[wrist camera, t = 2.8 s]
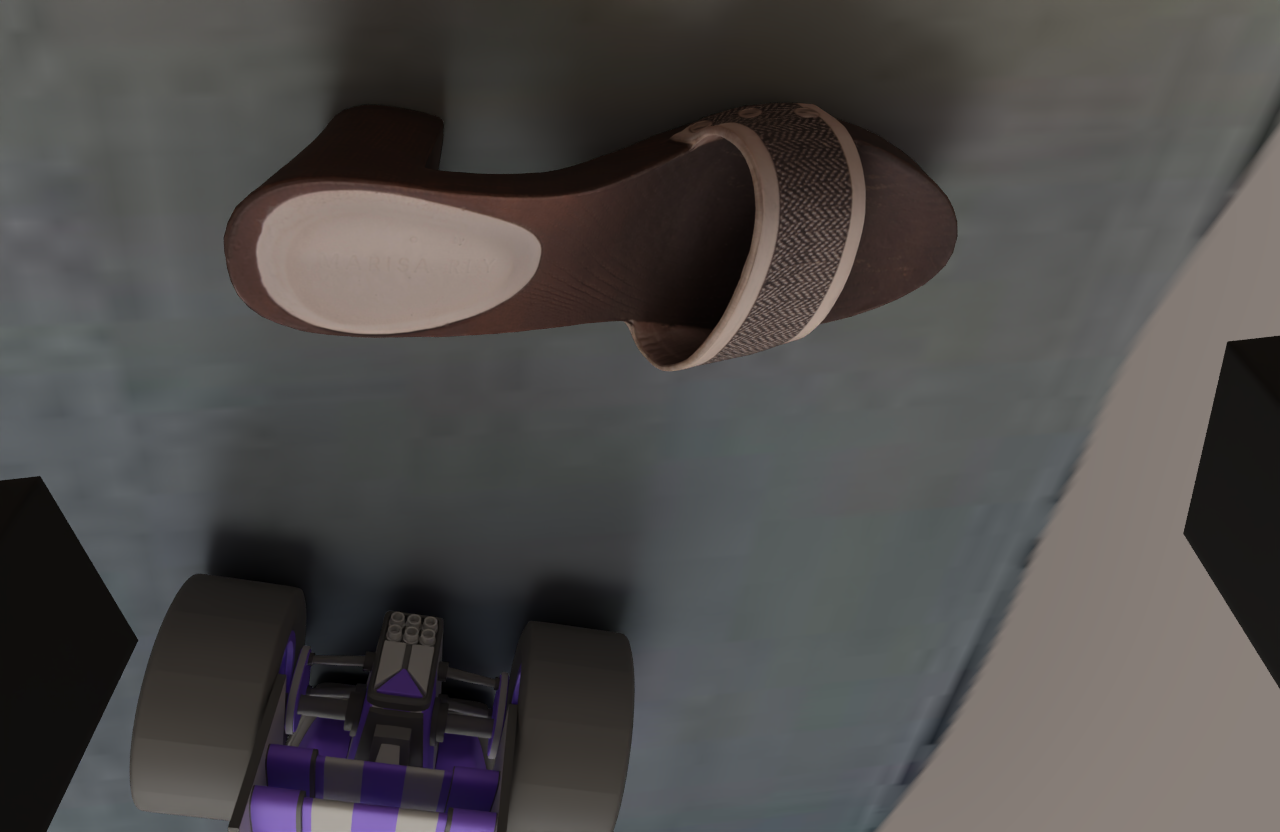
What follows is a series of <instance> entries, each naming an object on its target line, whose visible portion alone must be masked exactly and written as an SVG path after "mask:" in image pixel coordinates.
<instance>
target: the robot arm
mask: <svg viewBox="0 0 1280 832" xmlns="http://www.w3.org/2000/svg"><path fill="white" fill-rule="evenodd" d="M1184 535H1185V537H1186V539H1187V540H1188V541H1189V543H1190V545H1191V546H1192V548H1193V550H1194V551H1195V553H1196V555H1197V556H1198V558H1199V559H1200V561H1201V563H1202V564H1203V566H1204V567H1205V569H1206V571H1207V572H1208V574H1209V576H1210V577H1211V579H1212V580H1213V582H1214V584H1215V585H1216V587H1217V588H1218V590H1219V592H1220V593H1221V595H1222V596H1223V598H1224V600H1225V601H1226V603H1227V605H1228V606H1229V608H1230V609H1231V611H1232V613H1233V614H1234V616H1235V617H1236V619H1237V621H1238V622H1239V624H1240V625H1241V627H1242V628H1243V630H1244V632H1245V634H1246V635H1247V637H1248V638H1249V640H1250V642H1251V643H1252V645H1253V646H1254V648H1255V650H1256V651H1257V653H1258V655H1259V656H1260V658H1261V659H1262V661H1263V662H1264V664H1265V666H1266V667H1267V669H1268V670H1269V672H1270V674H1271V675H1272V677H1273V679H1274V680H1275V682H1276V683H1277V685H1278V687H1279V688H1280V336H1274V337H1264V338H1256V339H1247V340H1238V341H1229V342H1227V346H1226V350H1225V354H1224V359H1223V363H1222V367H1221V372H1220V376H1219V380H1218V385H1217V389H1216V394H1215V398H1214V402H1213V407H1212V411H1211V415H1210V420H1209V424H1208V429H1207V433H1206V437H1205V442H1204V446H1203V450H1202V455H1201V459H1200V463H1199V468H1198V472H1197V477H1196V481H1195V485H1194V489H1193V494H1192V499H1191V503H1190V507H1189V511H1188V516H1187V520H1186V525H1185V529H1184ZM137 642H138V639H137V637H136V636H135V634H134V632H133V631H132V629H131V627H130V626H129V624H128V622H127V621H126V619H125V617H124V616H123V614H122V612H121V611H120V609H119V607H118V606H117V604H116V602H115V601H114V599H113V597H112V595H111V594H110V592H109V590H108V589H107V587H106V585H105V584H104V582H103V580H102V579H101V577H100V575H99V574H98V572H97V570H96V569H95V567H94V565H93V564H92V562H91V560H90V559H89V557H88V555H87V554H86V552H85V550H84V549H83V547H82V545H81V544H80V542H79V540H78V539H77V537H76V535H75V534H74V532H73V530H72V529H71V527H70V525H69V523H68V522H67V520H66V518H65V517H64V515H63V513H62V512H61V510H60V508H59V507H58V505H57V503H56V502H55V500H54V498H53V497H52V495H51V493H50V492H49V490H48V488H47V487H46V485H45V483H44V482H43V480H42V478H41V477H40V476H37V477H29V478H20V479H11V480H2V481H0V832H47V829H48V827H49V825H50V823H51V821H52V819H53V817H54V815H55V813H56V811H57V809H58V807H59V804H60V802H61V800H62V798H63V796H64V794H65V792H66V790H67V788H68V786H69V784H70V782H71V779H72V777H73V775H74V773H75V771H76V769H77V767H78V765H79V763H80V761H81V759H82V756H83V754H84V752H85V750H86V748H87V746H88V744H89V742H90V740H91V738H92V736H93V734H94V731H95V729H96V727H97V725H98V723H99V721H100V719H101V717H102V715H103V713H104V711H105V709H106V706H107V704H108V702H109V700H110V698H111V696H112V694H113V692H114V690H115V688H116V686H117V684H118V681H119V679H120V677H121V675H122V673H123V671H124V669H125V667H126V665H127V663H128V661H129V659H130V656H131V654H132V652H133V650H134V648H135V646H136V644H137Z"/></svg>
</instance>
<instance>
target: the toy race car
mask: <svg viewBox="0 0 1280 832" xmlns="http://www.w3.org/2000/svg"><path fill="white" fill-rule="evenodd" d="M443 628H444V620H443V619H442V618H439V617H432V616H425V615H418V614H411V613H403V612H396V611H387V612H386V614H385V617H384V620H383V624H382V629H381V633H380V637H379V641H378V645H377V648H376V652H368V651H367V652H366V655H365V656H334V655H315V653H311V652H312V651H311V646H305V635H306V603H305V597H304V593H303V591H302V589H300V588H297V587H292V586H286V585H279V584H272V583H265V582H258V581H251V580H243V579H236V578H229V577H222V576H215V575H208V574H195V575H193V576H191V577H190V578H189V579H188V580H187V581H186V582H185V583H184V584H183V586H182V587H181V589H180V590H179V592H178V593H177V595H176V596H175V598H174V600H173V602H172V603H171V605H170V607H169V609H168V611H167V613H166V616H165V618H164V620H163V622H162V625H161V627H160V629H159V632H158V635H157V637H156V640H155V643H154V646H153V649H152V652H151V655H150V658H149V661H148V664H147V668H146V671H145V675H144V679H143V683H142V686H141V691H140V695H139V699H138V704H137V709H136V714H135V720H134V726H133V733H132V741H131V752H130V786H131V793H132V798H133V801H134V804H135V805H136V807H137V808H138V809H140V810H142V811H147V812H155V813H164V814H173V815H182V816H191V817H200V818H209V819H219V820H228V821H230V823H229V826H228V832H613V830H614V827H615V824H616V821H617V817H618V814H619V810H620V806H621V802H622V797H623V792H624V788H625V782H626V776H627V770H628V764H629V757H630V749H631V740H632V730H633V717H634V666H633V658H632V652H631V647H630V644H629V640H628V638H627V637H626V636H625V635H624V634H622V633H617V632H610V631H603V630H596V629H589V628H582V627H575V626H568V625H561V624H554V623H547V622H539V621H529V622H528V623H527V625H526V626H525V628H524V630H523V632H522V634H521V636H520V639H519V642H518V645H517V648H516V652H515V656H514V660H513V664H512V669H511V674H510V679H509V676H508V673H507V672H502V673H501V675H500V677H496V678H495V679H492V678H488V677H485V676H481V675H477V674H473V673H469V672H466V671H462V670H458V669H454V668H451V667H448V665H449V662H442V647H443ZM313 664H331V665H348V666H363V671H367V672H370V673H369V677H368V680H367V684H360V683H357V686H355V685H348V684H340V683H320V684H319V685H317V686H316V688H312V686H310V685H309V680H310V669H311V666H312V665H313ZM446 677H447V678H452V679H457V680H461V681H466V682H471V683H476V684H481V685H485V686H490V687H494V690H496V694H495V699H494V703H493V708H492V709H488V707H487V706H486V704H483V703H480V702H476V701H470V700H463V699H456V698H448V695H445V694H441V681H443V682H446ZM288 734H290V736H289V738H288V740H287V742H286V739H287V735H288ZM285 743H286V744H285Z"/></svg>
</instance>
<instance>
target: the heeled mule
mask: <svg viewBox="0 0 1280 832" xmlns="http://www.w3.org/2000/svg"><path fill="white" fill-rule="evenodd" d="M443 131H444V122H443V120H442V119H440V118H439V117H437V116H434V115H430V114H426V113H422V112H418V111H413V110H407V109H402V108H397V107H391V106H383V105H361V106H356V107H352V108H349V109H345V110H343V111H342V112H340V113H338V114H337V115H335V116H334V118H333V119H332V120H331V121H330V122H329V123H328V125H327V126H326V128H325V129H324V130H323V131H322V132H321V133H320V134H319V136H318V137H317V138H316V139H315V140H314V141H313V142H312V143H311V144H309V145H308V146H307V147H306V148H305V149H304V150H303V151H301V152H300V153H299V154H298V155H297V156H296V157H295V158H293V159H292V160H291V161H290V162H289V163H287V164H286V165H285V166H284V167H282V168H281V169H280V170H279V171H277V172H276V173H275V174H274V175H273V176H271V177H270V178H269V179H268V180H267V181H266V182H265V183H263V184H262V185H261V186H260V187H258V188H257V189H256V190H254V191H253V192H251V193H250V194H249V195H248V196H247V197H246V198H245V199H244V200H243V201H242V202H240V203H239V204H238V205H237V206H236V208H235V210H234V211H233V213H232V215H231V217H230V219H229V221H228V223H227V227H226V231H225V235H224V252H225V257H226V264H227V269H228V273H229V276H230V280H231V282H232V284H233V286H234V288H235V290H236V292H237V294H238V296H239V297H240V298H241V299H242V300H243V301H244V303H245V304H246V305H247V306H248V307H249V308H251V309H252V310H253V311H255V312H256V313H258V314H259V315H260V316H262V317H264V318H267V319H269V320H271V321H274V322H276V323H278V324H282V325H285V326H288V327H291V328H294V329H298V330H301V331H306V332H311V333H318V334H327V335H338V336H351V337H372V338H380V337H451V336H464V335H482V334H498V333H507V332H520V331H528V330H536V329H547V328H555V327H563V326H571V325H578V324H585V323H596V322H608V321H624V322H625V323H626V324H627V326H628V327H629V329H630V332H631V335H632V337H633V340H634V342H635V344H636V345H637V347H638V349H639V350H640V352H641V353H642V354H643V356H644V357H645V358H646V359H647V360H648V361H649V362H650V363H651V364H652V365H653V366H655V367H656V368H658V369H660V370H663V371H676V370H682V369H687V368H691V367H694V366H699V365H704V364H708V363H713V362H718V361H722V360H727V359H731V358H736V357H741V356H746V355H750V354H754V353H757V352H760V351H763V350H766V349H769V348H772V347H775V346H778V345H781V344H785V343H788V342H791V341H794V340H798V339H801V338H803V337H805V336H806V335H808V334H809V333H810V332H812V331H813V330H814V329H815V328H816V327H817V326H818V325H819V324H823V323H827V322H831V321H835V320H839V319H843V318H847V317H851V316H854V315H857V314H860V313H863V312H866V311H869V310H872V309H875V308H878V307H880V306H882V305H885V304H887V303H890V302H892V301H894V300H897V299H899V298H901V297H903V296H905V295H907V294H908V293H910V292H912V291H914V290H916V289H917V288H919V287H921V286H923V285H924V284H925V283H927V282H928V281H929V280H930V279H932V278H933V277H934V276H935V275H936V274H937V273H938V272H939V271H940V270H941V269H942V268H943V267H944V266H945V265H946V264H947V262H948V260H949V259H950V257H951V255H952V253H953V251H954V247H955V243H956V240H957V219H956V216H955V212H954V209H953V207H952V205H951V203H950V201H949V199H948V197H947V195H946V194H945V193H944V192H943V191H942V190H941V188H940V187H939V186H938V185H937V184H936V183H935V182H934V181H933V180H932V179H931V178H930V177H929V176H928V175H927V174H926V173H925V172H924V171H923V170H922V169H921V167H920V166H919V165H918V164H917V163H916V162H915V161H913V160H912V159H911V158H910V157H909V156H908V155H906V154H905V153H904V152H903V151H901V150H900V149H898V148H897V147H895V146H894V145H892V144H891V143H889V142H888V141H886V140H885V139H883V138H882V137H880V136H878V135H876V134H874V133H872V132H870V131H868V130H866V129H863V128H861V127H859V126H856V125H854V124H851V123H848V122H845V121H842V120H839V119H836V118H834V117H832V116H831V115H829V114H828V113H826V112H825V111H823V110H822V109H820V108H819V107H817V106H816V105H814V104H804V103H766V104H759V105H745V106H741V107H737V108H733V109H730V110H727V111H724V112H720V113H716V114H712V115H709V116H706V117H704V118H701V119H700V120H698V121H696V122H693V123H690V124H687V125H684V126H681V127H678V128H675V129H672V130H669V131H666V132H663V133H660V134H657V135H654V136H652V137H650V138H648V139H646V140H643V141H640V142H638V143H635V144H633V145H631V146H628V147H626V148H624V149H621V150H618V151H616V152H613V153H610V154H607V155H604V156H601V157H598V158H595V159H593V160H590V161H587V162H584V163H581V164H578V165H574V166H571V167H567V168H563V169H559V170H554V171H548V172H540V173H525V174H475V173H463V172H449V171H440V170H439V163H440V157H441V150H442V144H443Z"/></svg>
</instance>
